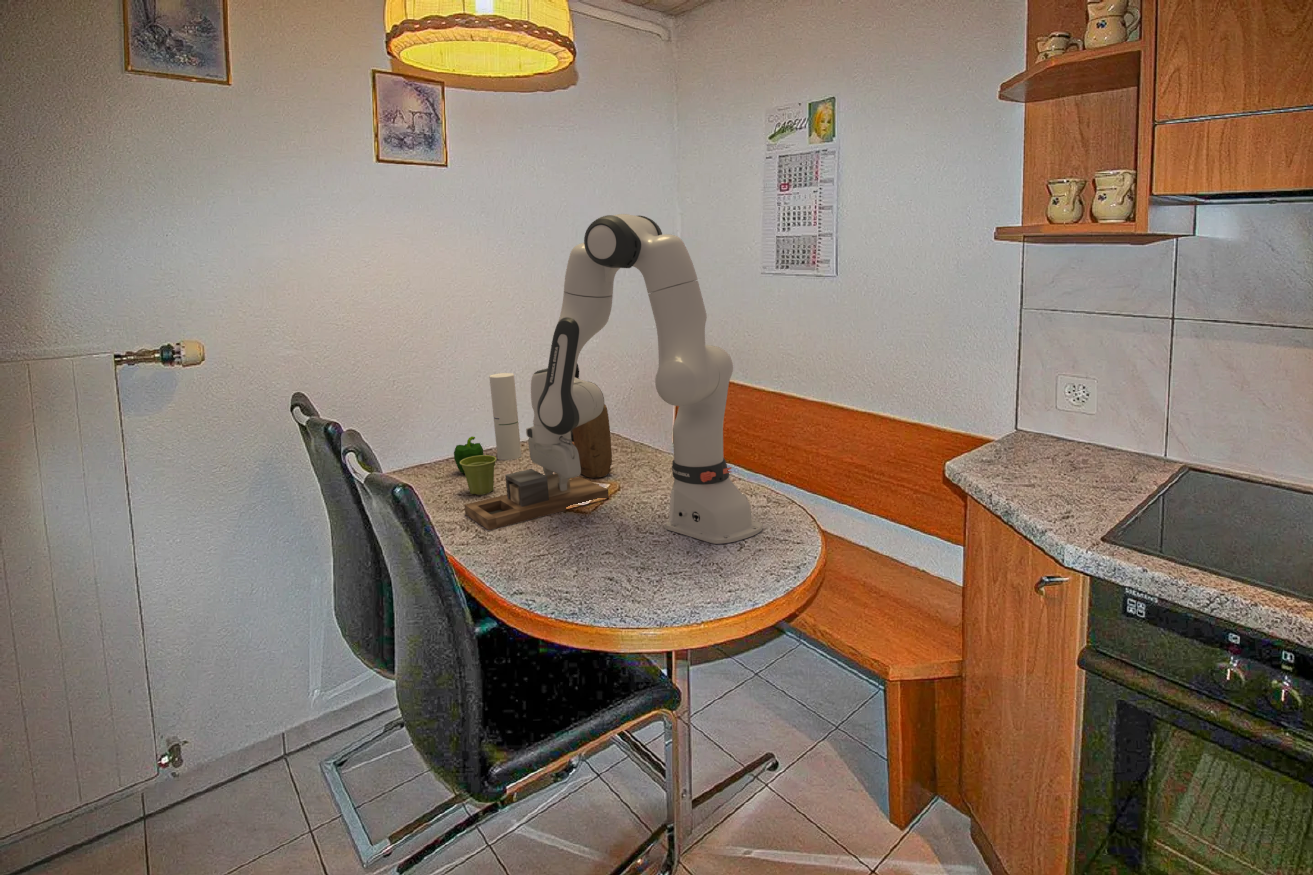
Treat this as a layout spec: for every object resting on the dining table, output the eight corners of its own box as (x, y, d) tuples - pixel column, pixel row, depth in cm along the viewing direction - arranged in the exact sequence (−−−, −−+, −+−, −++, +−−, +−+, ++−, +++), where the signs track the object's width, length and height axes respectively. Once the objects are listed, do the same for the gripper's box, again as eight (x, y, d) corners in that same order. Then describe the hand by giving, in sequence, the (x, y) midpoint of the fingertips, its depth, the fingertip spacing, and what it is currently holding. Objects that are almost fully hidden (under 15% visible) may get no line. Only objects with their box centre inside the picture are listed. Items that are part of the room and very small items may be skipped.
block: (615, 475, 217) (611, 403, 212) (591, 481, 213) (586, 408, 208) (595, 466, 226) (590, 398, 221) (572, 472, 222) (566, 402, 217)
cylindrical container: (509, 452, 245) (502, 372, 239) (526, 455, 241) (519, 373, 235) (492, 458, 240) (484, 376, 233) (509, 461, 235) (501, 378, 229)
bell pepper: (465, 478, 221) (461, 443, 218) (451, 472, 227) (447, 438, 224) (491, 471, 226) (488, 437, 224) (477, 466, 232) (473, 433, 230)
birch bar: (570, 491, 197) (569, 476, 196) (518, 504, 189) (517, 488, 188) (561, 487, 201) (560, 472, 200) (510, 500, 193) (509, 484, 192)
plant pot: (467, 499, 203) (463, 467, 200) (460, 489, 211) (456, 458, 209) (503, 493, 206) (500, 461, 204) (495, 484, 215) (492, 453, 212)
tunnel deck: (608, 498, 198) (606, 466, 196) (488, 530, 181) (485, 494, 179) (580, 485, 209) (578, 454, 207) (465, 514, 192) (461, 480, 190)
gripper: (585, 438, 187) (589, 494, 191) (545, 424, 203) (549, 475, 207) (561, 443, 184) (565, 500, 187) (522, 428, 200) (527, 480, 203)
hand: (556, 487), depth 197 cm, fingers closed on birch bar, 4 cm apart
